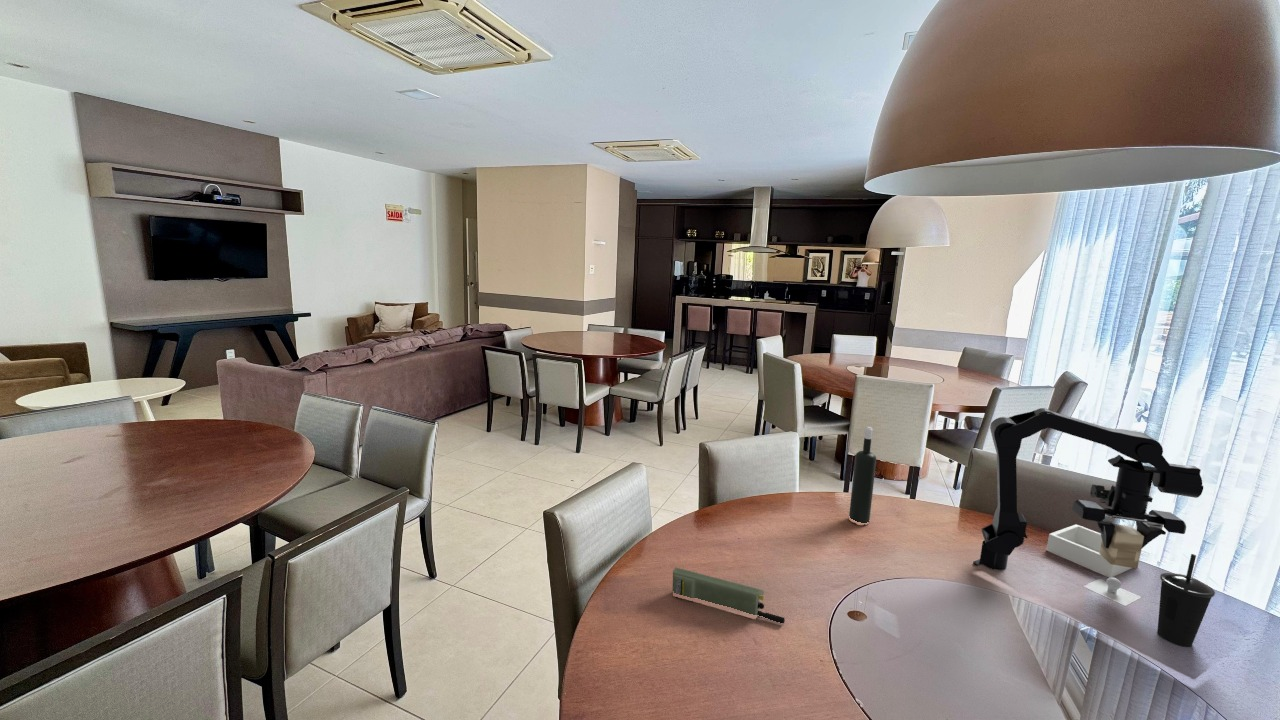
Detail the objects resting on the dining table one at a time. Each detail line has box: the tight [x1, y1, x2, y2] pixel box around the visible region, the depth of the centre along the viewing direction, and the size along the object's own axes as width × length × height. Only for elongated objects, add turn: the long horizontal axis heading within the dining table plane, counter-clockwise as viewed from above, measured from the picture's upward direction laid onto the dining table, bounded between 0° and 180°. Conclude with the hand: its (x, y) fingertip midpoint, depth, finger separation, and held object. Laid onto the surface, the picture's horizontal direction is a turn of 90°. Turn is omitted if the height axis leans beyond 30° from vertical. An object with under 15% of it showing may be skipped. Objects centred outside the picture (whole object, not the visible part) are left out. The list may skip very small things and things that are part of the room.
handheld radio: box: [672, 566, 786, 624], centre depth 112 cm, size 7×3×25 cm
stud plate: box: [1082, 577, 1142, 607], centre depth 120 cm, size 8×8×5 cm
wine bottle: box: [848, 426, 877, 523], centre depth 152 cm, size 6×6×30 cm
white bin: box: [1046, 523, 1132, 578], centre depth 135 cm, size 14×14×6 cm
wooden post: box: [1099, 523, 1144, 569], centre depth 119 cm, size 5×5×8 cm
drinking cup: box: [1156, 553, 1216, 648], centre depth 104 cm, size 8×8×20 cm
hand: (1120, 549), depth 119 cm, fingers closed on wooden post, 5 cm apart
